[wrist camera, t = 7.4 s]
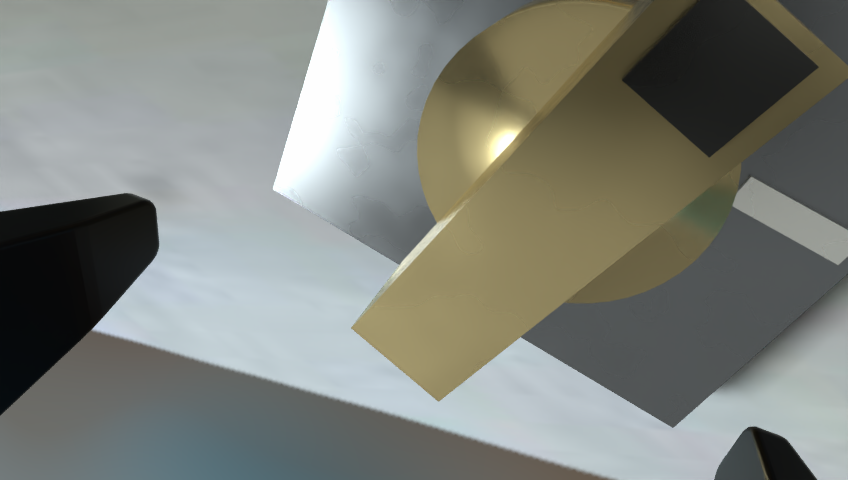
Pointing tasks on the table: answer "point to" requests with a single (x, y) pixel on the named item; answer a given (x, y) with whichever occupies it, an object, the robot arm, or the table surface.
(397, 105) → the lock base
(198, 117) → the table surface
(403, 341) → the brass lock knob
